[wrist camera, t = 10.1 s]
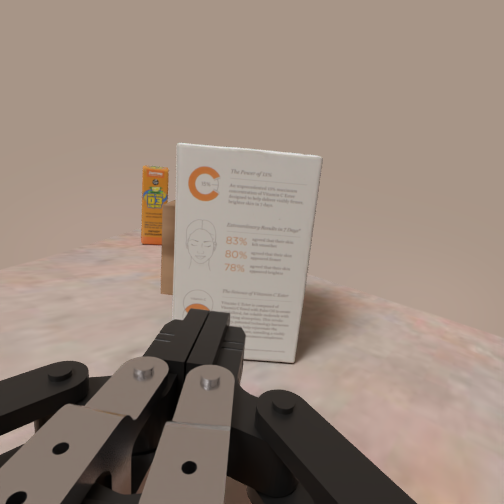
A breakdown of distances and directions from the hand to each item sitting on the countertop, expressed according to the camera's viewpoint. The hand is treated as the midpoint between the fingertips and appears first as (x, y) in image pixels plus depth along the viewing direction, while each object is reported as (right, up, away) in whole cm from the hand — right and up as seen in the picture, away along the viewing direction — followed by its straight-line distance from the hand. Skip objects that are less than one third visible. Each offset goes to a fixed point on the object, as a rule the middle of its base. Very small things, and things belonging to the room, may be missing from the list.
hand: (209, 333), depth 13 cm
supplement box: (-12, +4, +34) cm, 36 cm away
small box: (0, -3, +12) cm, 12 cm away
